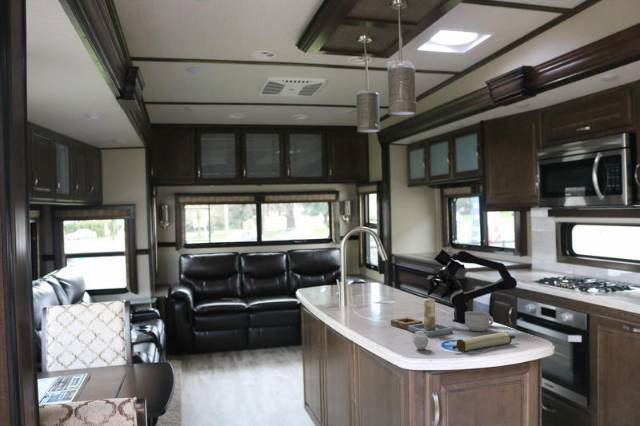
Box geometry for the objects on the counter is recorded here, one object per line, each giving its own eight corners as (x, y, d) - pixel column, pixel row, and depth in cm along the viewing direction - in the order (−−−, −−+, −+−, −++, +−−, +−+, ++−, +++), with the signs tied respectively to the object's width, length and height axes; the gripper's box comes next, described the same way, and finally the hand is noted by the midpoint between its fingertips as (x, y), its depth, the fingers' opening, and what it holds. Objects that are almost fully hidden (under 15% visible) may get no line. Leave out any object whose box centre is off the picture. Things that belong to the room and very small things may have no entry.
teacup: (460, 328, 227) (459, 311, 227) (479, 326, 231) (478, 309, 231) (480, 335, 214) (479, 317, 214) (500, 332, 218) (499, 314, 218)
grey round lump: (424, 346, 199) (424, 329, 199) (431, 351, 192) (431, 333, 192) (410, 347, 198) (410, 330, 198) (416, 352, 191) (416, 334, 191)
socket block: (422, 326, 233) (422, 321, 233) (405, 329, 227) (405, 324, 227) (408, 322, 242) (407, 317, 242) (390, 325, 237) (390, 319, 237)
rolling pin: (509, 341, 205) (509, 329, 205) (520, 344, 200) (519, 332, 200) (448, 351, 191) (447, 339, 191) (457, 355, 186) (457, 342, 186)
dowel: (436, 329, 223) (436, 299, 223) (433, 332, 219) (432, 300, 219) (426, 328, 226) (425, 298, 226) (422, 331, 221) (422, 300, 221)
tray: (452, 332, 220) (452, 327, 220) (428, 337, 213) (428, 332, 213) (430, 326, 232) (430, 322, 232) (407, 330, 225) (407, 326, 225)
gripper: (428, 259, 246) (412, 283, 241) (456, 262, 230) (439, 288, 225) (440, 273, 250) (424, 297, 245) (468, 277, 234) (452, 303, 229)
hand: (434, 296), depth 236 cm, fingers open, 9 cm apart
